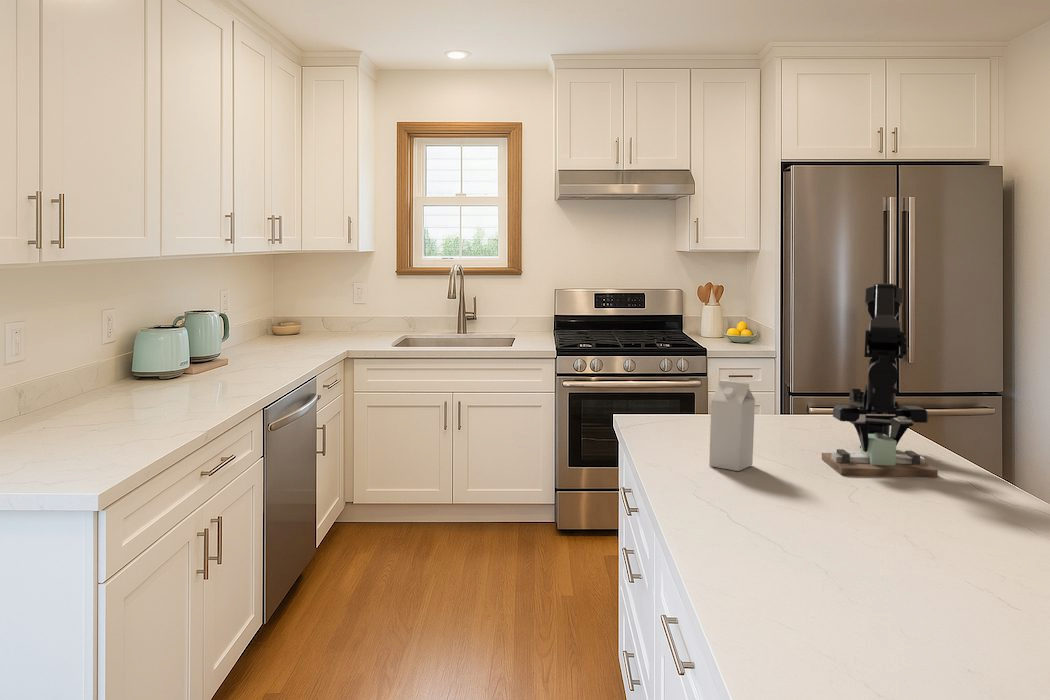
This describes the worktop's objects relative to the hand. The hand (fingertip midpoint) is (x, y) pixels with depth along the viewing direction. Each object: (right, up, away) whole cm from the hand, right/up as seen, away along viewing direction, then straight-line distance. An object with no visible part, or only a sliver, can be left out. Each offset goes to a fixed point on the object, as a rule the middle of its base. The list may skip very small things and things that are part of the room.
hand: (877, 451), depth 179 cm
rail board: (0, -4, 0) cm, 4 cm away
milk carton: (-32, -4, +1) cm, 32 cm away
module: (0, -2, 0) cm, 2 cm away
